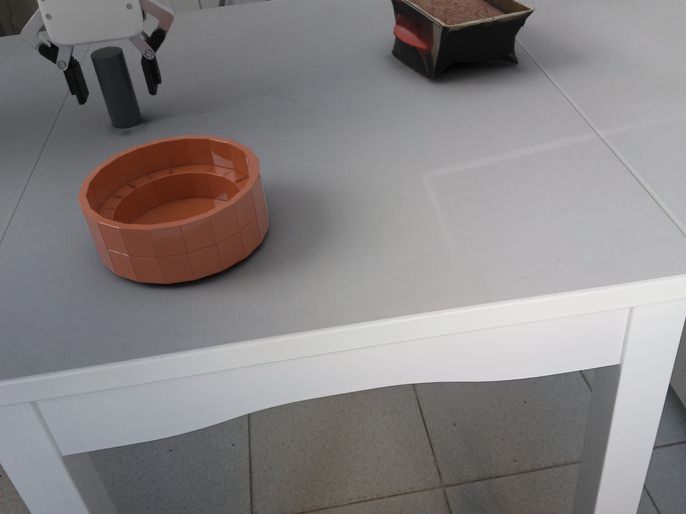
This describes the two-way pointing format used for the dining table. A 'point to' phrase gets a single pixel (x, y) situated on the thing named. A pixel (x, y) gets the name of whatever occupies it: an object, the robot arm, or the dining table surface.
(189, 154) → the bowl
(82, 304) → the dining table surface
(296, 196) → the dining table surface
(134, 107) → the dark grey cylinder
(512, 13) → the black soil planter box
